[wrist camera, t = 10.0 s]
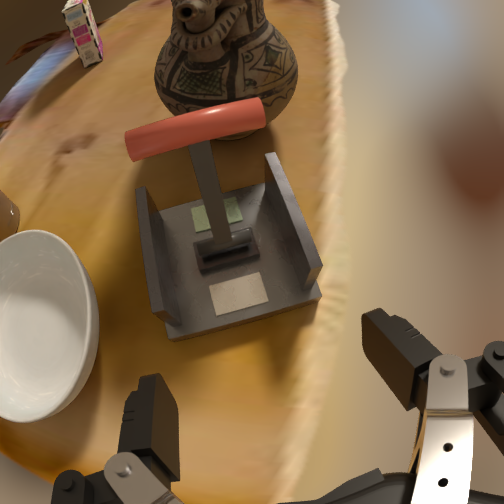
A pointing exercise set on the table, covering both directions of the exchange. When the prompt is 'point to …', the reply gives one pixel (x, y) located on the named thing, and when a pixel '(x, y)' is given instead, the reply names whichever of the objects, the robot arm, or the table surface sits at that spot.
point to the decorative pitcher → (224, 59)
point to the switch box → (228, 259)
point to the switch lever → (202, 155)
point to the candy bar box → (83, 31)
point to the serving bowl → (44, 326)
